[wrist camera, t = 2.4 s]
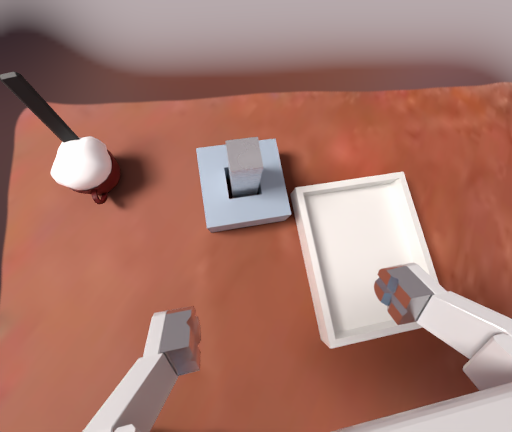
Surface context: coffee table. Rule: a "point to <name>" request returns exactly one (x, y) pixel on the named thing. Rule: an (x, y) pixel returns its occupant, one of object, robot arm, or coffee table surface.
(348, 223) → the tray
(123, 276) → the coffee table surface
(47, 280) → the coffee table surface
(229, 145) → the pin
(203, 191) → the socket block
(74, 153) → the cocoa
